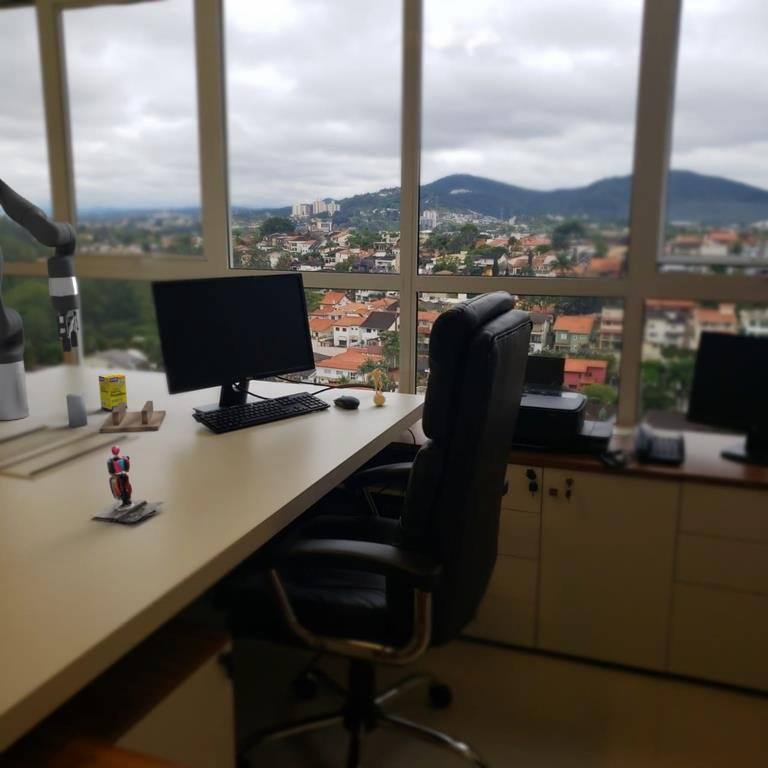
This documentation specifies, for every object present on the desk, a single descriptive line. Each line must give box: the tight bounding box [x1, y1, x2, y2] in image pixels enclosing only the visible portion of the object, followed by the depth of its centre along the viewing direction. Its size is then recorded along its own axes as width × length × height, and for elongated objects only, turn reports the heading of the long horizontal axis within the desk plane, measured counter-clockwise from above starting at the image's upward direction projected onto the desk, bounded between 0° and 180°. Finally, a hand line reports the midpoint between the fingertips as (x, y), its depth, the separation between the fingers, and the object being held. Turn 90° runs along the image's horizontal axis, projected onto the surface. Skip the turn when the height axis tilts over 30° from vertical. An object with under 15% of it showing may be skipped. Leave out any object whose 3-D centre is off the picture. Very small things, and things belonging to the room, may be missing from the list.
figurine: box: [365, 367, 391, 406], centre depth 239 cm, size 8×6×12 cm
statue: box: [90, 445, 165, 525], centre depth 149 cm, size 11×9×15 cm
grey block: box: [65, 392, 88, 428], centre depth 216 cm, size 5×5×9 cm
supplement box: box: [98, 372, 128, 413], centre depth 234 cm, size 6×6×11 cm
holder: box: [99, 400, 167, 434], centre depth 218 cm, size 16×18×5 cm
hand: (70, 349), depth 213 cm, fingers open, 8 cm apart
